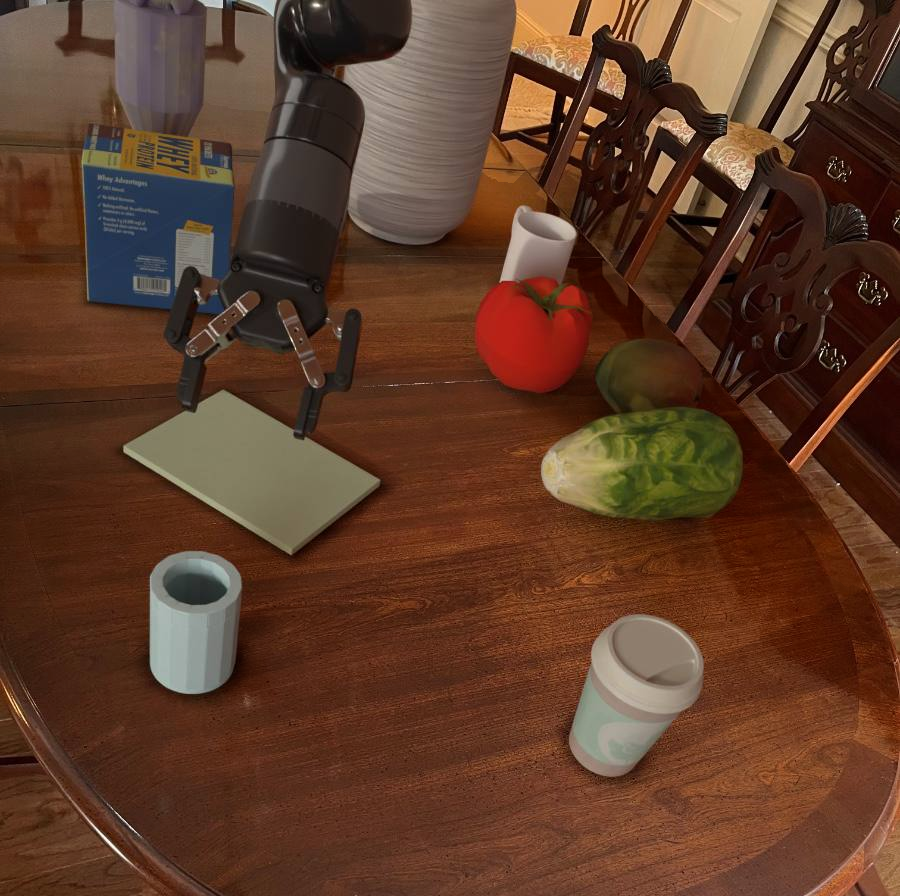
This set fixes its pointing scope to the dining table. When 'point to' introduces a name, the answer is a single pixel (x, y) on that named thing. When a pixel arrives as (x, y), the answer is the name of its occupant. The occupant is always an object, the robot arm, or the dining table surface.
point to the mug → (538, 246)
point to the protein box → (154, 214)
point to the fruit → (648, 376)
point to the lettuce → (647, 465)
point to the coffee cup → (633, 691)
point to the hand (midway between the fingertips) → (243, 424)
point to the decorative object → (160, 63)
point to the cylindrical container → (194, 621)
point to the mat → (254, 470)
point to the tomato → (533, 332)
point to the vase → (430, 119)
